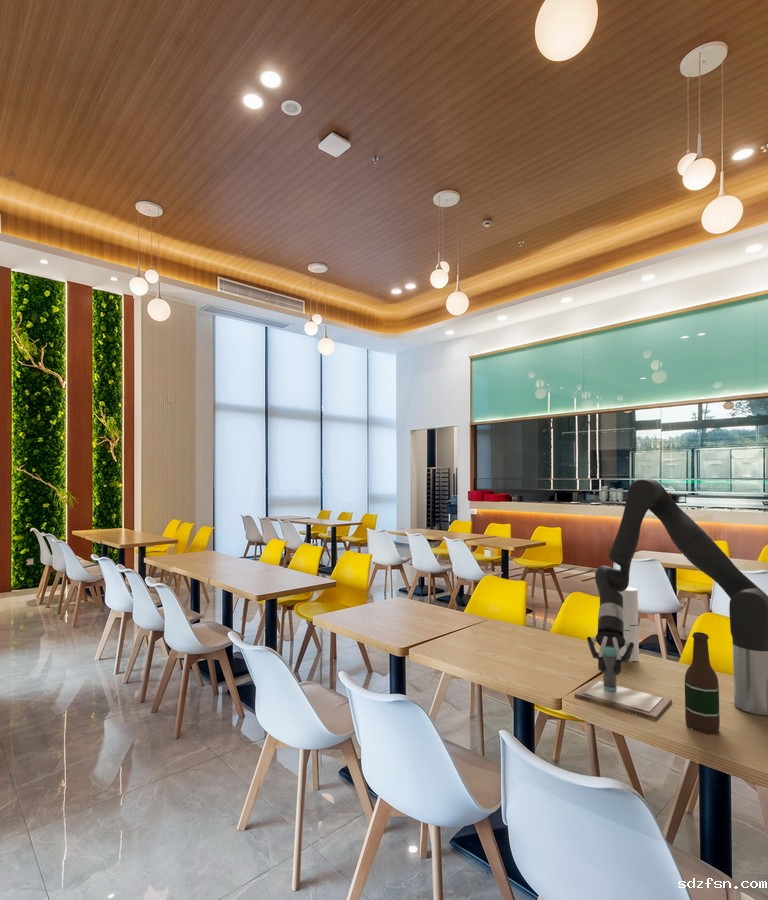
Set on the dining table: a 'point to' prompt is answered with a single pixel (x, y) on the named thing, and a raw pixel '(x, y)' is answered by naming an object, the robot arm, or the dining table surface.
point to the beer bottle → (701, 689)
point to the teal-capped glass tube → (609, 668)
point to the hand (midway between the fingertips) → (609, 672)
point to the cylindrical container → (630, 621)
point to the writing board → (625, 699)
